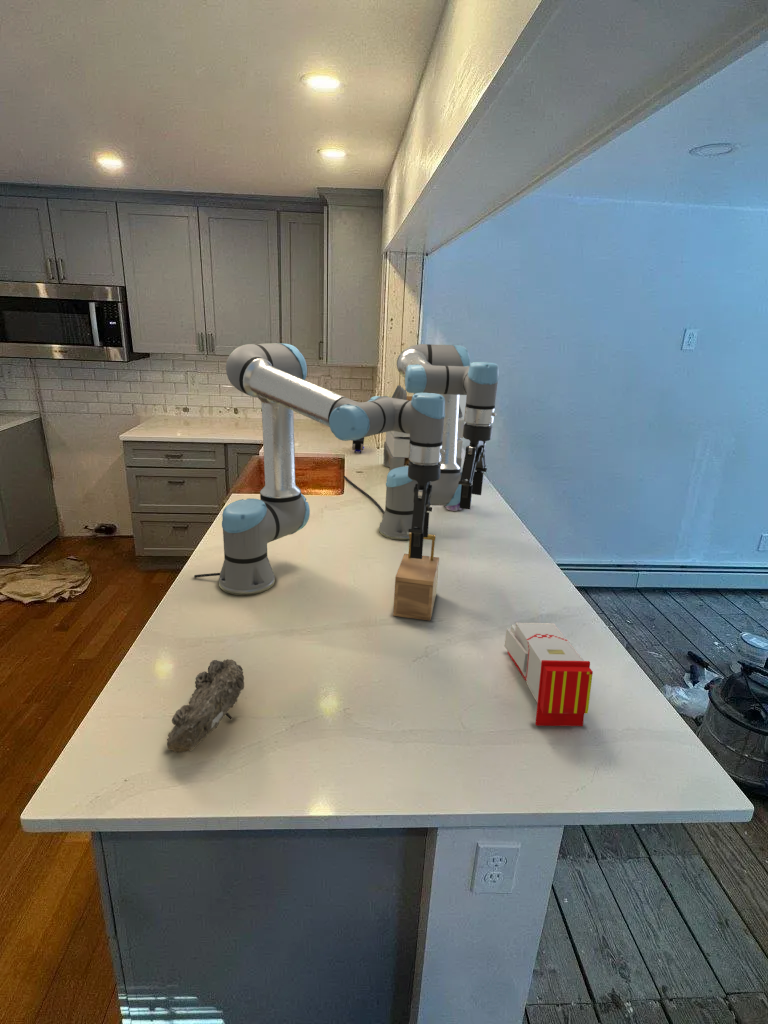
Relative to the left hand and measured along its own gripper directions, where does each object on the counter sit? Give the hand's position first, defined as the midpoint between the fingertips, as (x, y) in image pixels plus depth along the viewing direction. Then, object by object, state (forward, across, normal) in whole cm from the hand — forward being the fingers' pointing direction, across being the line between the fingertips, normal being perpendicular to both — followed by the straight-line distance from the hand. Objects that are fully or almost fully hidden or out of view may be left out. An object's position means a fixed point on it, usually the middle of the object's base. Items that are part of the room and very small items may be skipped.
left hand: (419, 546), depth 138 cm
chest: (+20, +8, +1) cm, 22 cm away
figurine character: (+20, +171, +52) cm, 180 cm away
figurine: (+20, +91, -6) cm, 94 cm away
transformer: (+20, +138, +14) cm, 140 cm away
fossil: (+20, -44, +34) cm, 59 cm away
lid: (+11, +9, +1) cm, 14 cm away
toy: (+21, -19, -29) cm, 41 cm away
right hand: (-6, +22, -11) cm, 25 cm away
